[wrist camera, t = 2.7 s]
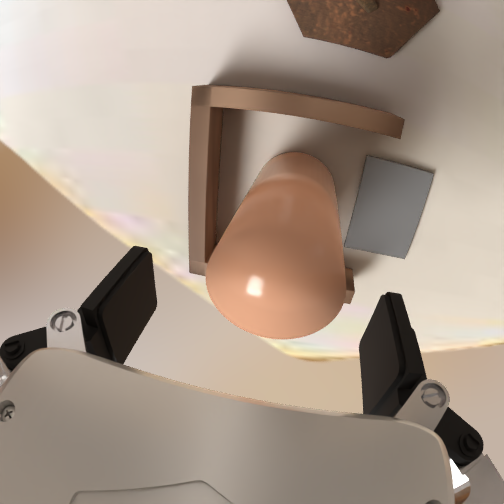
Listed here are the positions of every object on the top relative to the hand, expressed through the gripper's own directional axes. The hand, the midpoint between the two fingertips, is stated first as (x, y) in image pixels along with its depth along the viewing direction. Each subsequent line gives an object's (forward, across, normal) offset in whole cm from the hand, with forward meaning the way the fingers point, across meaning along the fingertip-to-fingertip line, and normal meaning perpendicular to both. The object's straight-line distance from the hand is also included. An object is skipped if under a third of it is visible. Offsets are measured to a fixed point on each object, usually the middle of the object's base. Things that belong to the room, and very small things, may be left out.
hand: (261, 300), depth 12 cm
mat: (+11, -7, -1) cm, 13 cm away
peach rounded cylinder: (+11, -1, 0) cm, 11 cm away
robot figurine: (+11, -3, -16) cm, 19 cm away
